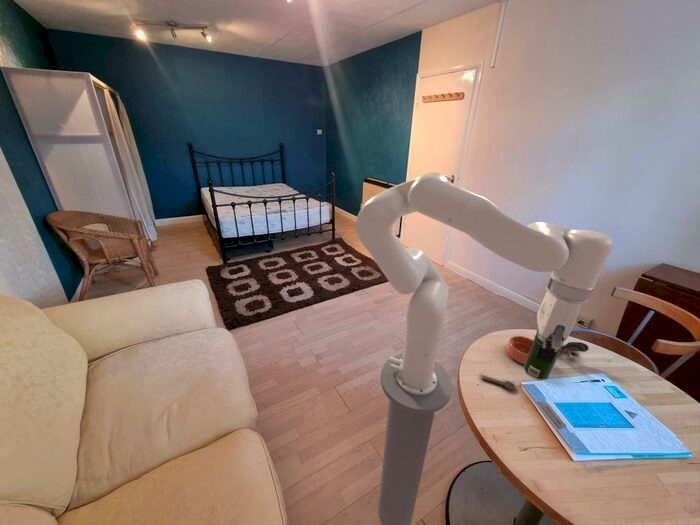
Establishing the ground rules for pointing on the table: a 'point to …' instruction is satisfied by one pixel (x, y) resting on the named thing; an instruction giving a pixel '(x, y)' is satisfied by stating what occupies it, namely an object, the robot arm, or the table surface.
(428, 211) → the robot arm
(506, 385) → the spoon
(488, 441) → the table surface
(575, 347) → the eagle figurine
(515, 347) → the bowl
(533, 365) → the beer can
